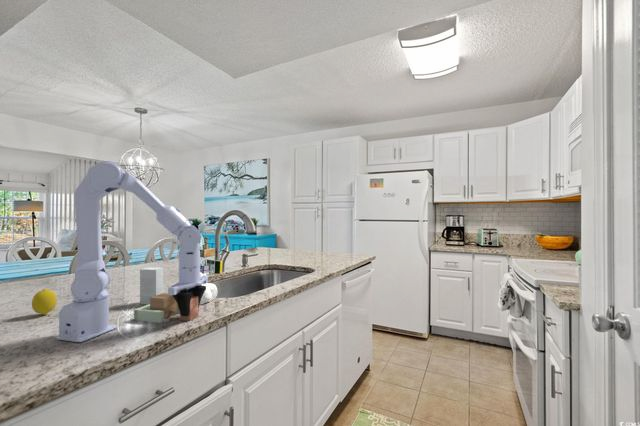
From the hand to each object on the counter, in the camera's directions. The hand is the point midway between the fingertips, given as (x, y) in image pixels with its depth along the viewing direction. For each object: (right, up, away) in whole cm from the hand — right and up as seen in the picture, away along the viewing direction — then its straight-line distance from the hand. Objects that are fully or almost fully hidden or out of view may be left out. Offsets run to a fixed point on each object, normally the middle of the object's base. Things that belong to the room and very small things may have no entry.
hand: (189, 313), depth 84 cm
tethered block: (-5, -1, +1) cm, 5 cm away
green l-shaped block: (-10, -2, +3) cm, 10 cm away
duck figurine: (-3, -2, +16) cm, 17 cm away
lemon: (-46, -2, +4) cm, 46 cm away
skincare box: (-20, -2, +16) cm, 25 cm away
